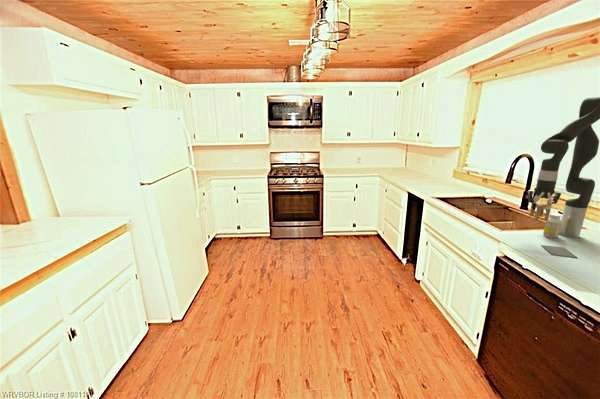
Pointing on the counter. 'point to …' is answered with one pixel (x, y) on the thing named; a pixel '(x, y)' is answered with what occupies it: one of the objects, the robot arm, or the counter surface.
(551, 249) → the rubber mat
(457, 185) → the counter surface
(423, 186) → the counter surface
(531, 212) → the notched wooden block
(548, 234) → the supplement bottle
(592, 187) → the robot arm
